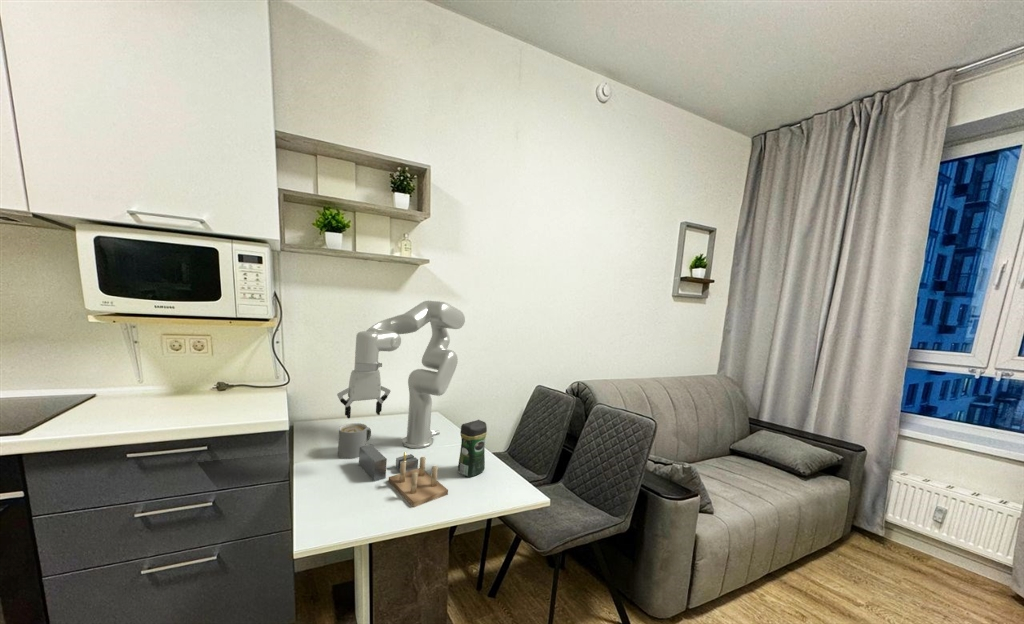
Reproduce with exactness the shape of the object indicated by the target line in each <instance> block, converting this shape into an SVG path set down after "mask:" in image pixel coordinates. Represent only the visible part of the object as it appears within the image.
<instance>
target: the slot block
mask: <svg viewBox="0 0 1024 624" xmlns="http://www.w3.org/2000/svg"><path fill="white" fill-rule="evenodd" d="M395 459H396V460H395V468H396V470H398V472H400V463H402V462H405V463H406V472H408V471H411V470H414V469H418V468H419V459H418V458H417V457H415V455H413V453H412V454H411V453H409V454H407V452H406V451H404V452H403V456H399V457H396V458H395Z"/></svg>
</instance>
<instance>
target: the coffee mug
mask: <svg viewBox="0 0 1024 624" xmlns="http://www.w3.org/2000/svg"><path fill="white" fill-rule="evenodd" d="M371 436H372V429H371V428H370V427H368V425H367V424H365V423H359V422H358V423H357V422H356V423H355V422H354V423H347V424H344V425H341V426H339V430H338V443H337V444H338V445H337V446H338V447H337V456H338V457H339V458H340V459H346V460H350V459H357V458H358V459H359V451H360V447H361V446H366V445H367V442H369V440H370V438H371Z"/></svg>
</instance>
